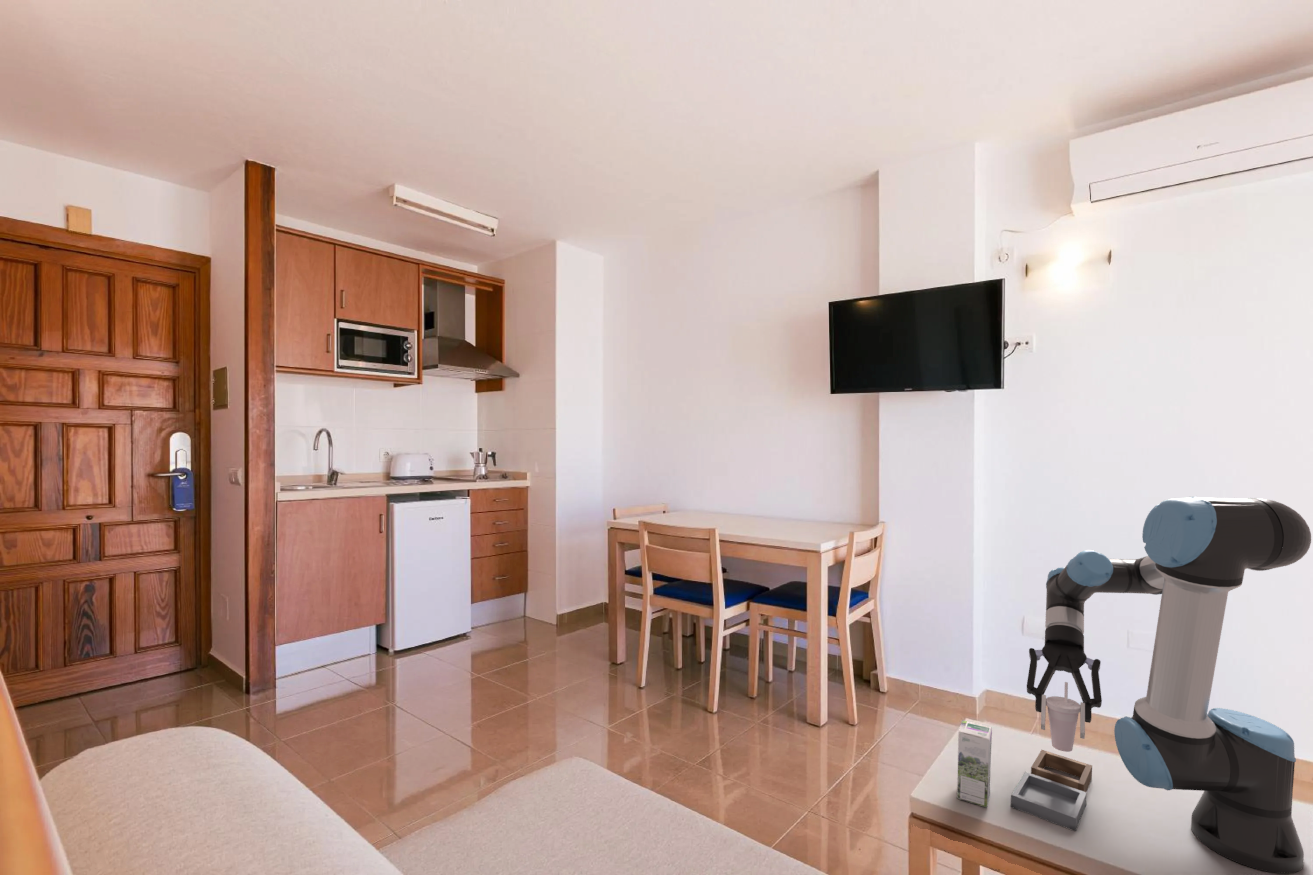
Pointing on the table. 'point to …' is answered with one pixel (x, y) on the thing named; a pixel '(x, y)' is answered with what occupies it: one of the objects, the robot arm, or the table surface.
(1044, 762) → the collar
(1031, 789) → the tray
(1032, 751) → the table surface
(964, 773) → the syrup box
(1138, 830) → the table surface
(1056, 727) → the smoothie
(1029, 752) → the table surface
